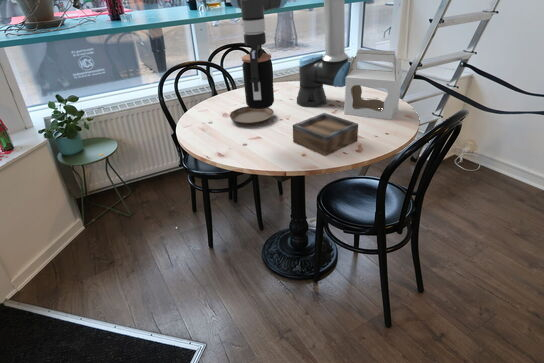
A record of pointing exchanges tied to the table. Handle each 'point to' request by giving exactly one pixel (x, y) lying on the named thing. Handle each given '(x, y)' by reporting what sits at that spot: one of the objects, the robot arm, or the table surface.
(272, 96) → the coffee jar
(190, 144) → the table surface
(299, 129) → the square wooden box
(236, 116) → the plant saucer
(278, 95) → the table surface
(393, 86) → the gable box
